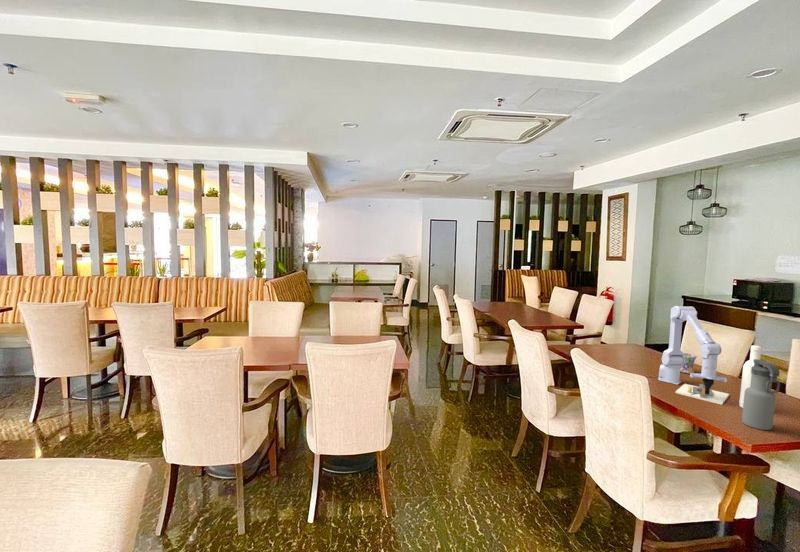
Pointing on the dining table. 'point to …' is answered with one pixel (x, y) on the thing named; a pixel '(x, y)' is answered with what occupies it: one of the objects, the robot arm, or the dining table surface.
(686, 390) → the base board
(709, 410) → the dining table surface
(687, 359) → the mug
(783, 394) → the dining table surface
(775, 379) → the water bottle
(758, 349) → the bottle
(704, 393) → the grey metal bracket
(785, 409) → the dining table surface
